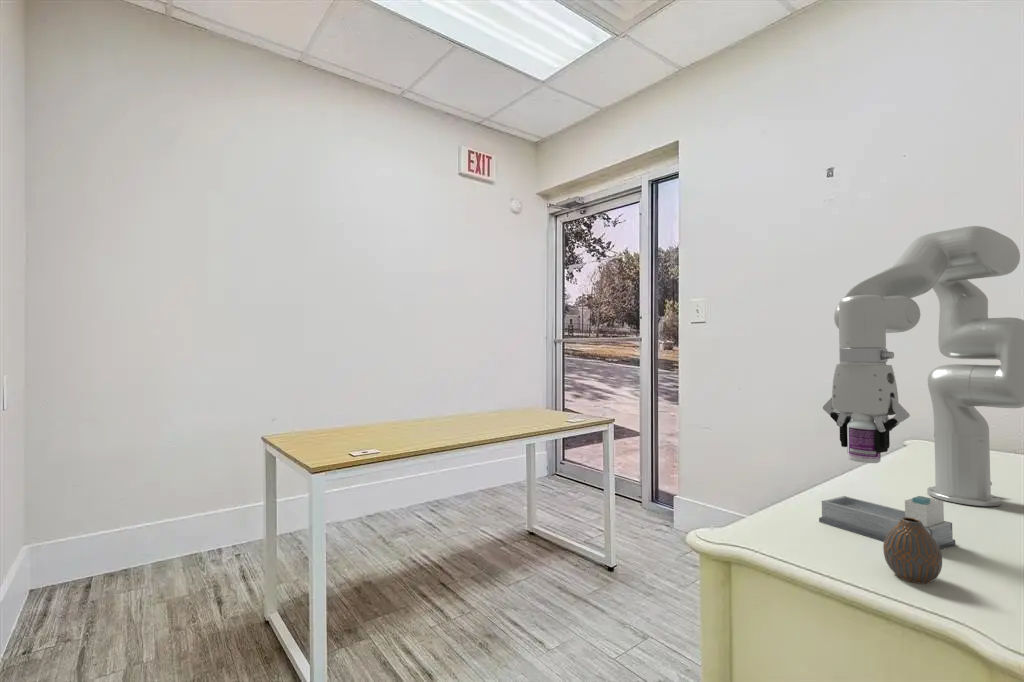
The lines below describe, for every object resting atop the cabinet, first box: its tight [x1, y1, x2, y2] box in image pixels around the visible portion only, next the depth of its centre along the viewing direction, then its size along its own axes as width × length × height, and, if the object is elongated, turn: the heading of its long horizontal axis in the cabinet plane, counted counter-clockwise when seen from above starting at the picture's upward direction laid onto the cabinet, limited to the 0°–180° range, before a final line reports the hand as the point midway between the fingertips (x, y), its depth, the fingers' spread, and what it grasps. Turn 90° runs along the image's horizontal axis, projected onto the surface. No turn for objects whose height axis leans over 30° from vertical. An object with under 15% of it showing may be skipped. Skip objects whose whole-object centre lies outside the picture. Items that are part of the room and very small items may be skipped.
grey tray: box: [818, 495, 956, 551], centre depth 91 cm, size 10×18×8 cm, turn 27°
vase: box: [882, 517, 943, 584], centre depth 73 cm, size 7×7×9 cm
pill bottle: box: [846, 413, 882, 464], centre depth 94 cm, size 5×5×10 cm
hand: (863, 448), depth 94 cm, fingers closed on pill bottle, 5 cm apart
